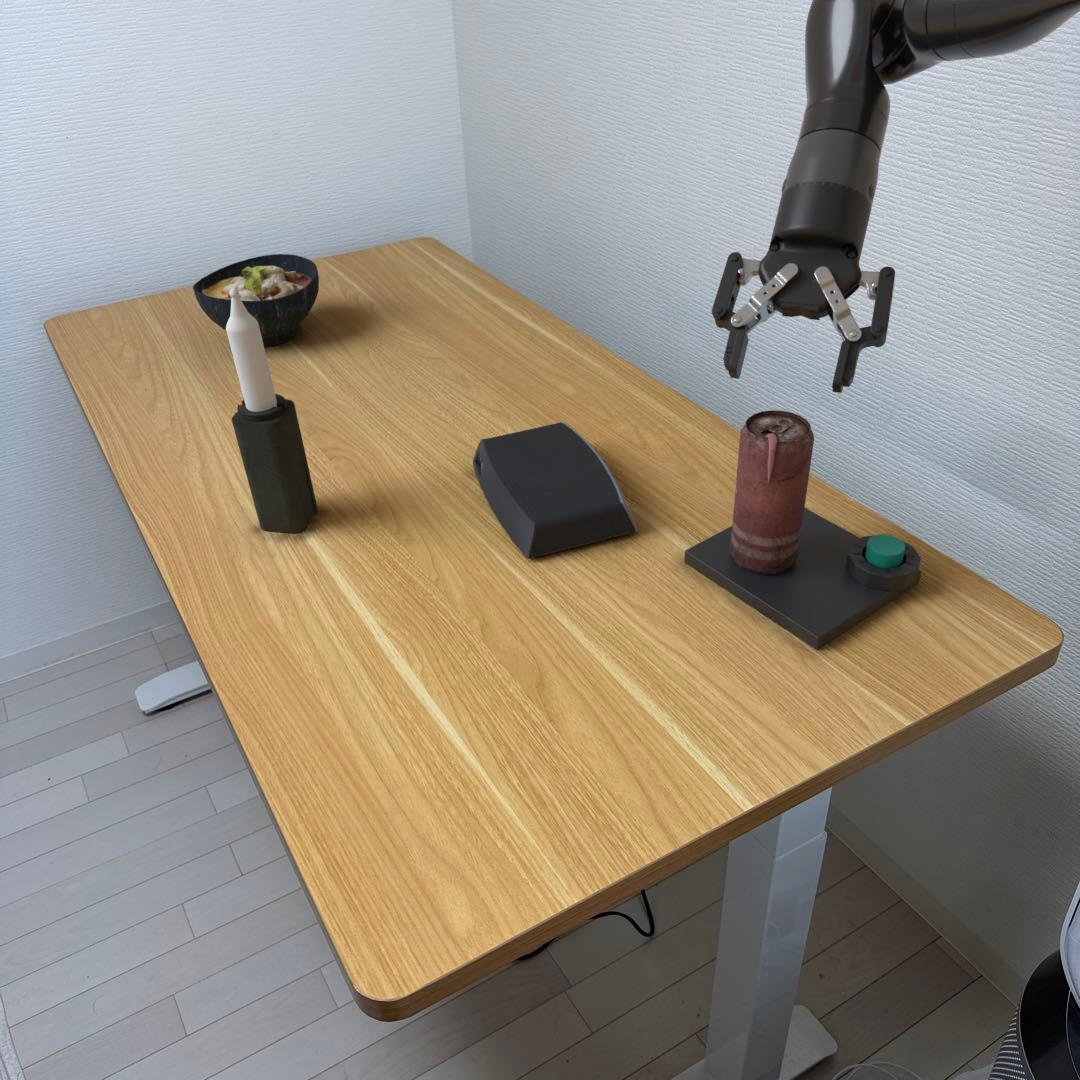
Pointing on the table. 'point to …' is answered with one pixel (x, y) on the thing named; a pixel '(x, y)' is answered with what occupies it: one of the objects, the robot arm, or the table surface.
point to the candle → (268, 433)
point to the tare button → (885, 551)
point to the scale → (811, 580)
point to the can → (771, 491)
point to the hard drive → (551, 490)
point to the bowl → (263, 293)
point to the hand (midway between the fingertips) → (783, 382)
